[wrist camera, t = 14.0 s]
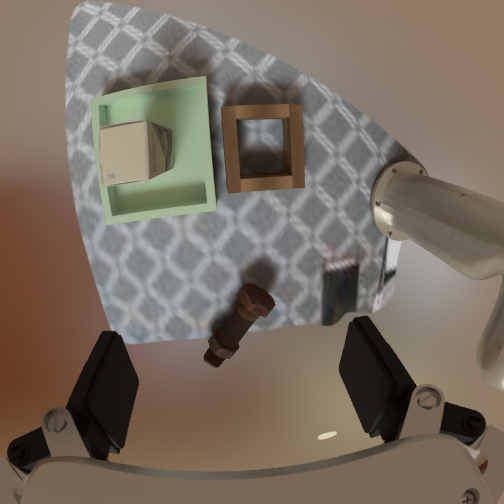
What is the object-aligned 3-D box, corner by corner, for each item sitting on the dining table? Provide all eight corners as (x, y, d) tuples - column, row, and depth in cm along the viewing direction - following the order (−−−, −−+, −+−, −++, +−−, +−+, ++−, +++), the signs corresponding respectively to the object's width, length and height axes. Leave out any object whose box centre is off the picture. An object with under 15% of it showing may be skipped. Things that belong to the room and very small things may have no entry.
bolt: (207, 344, 46) (252, 279, 41) (230, 362, 45) (279, 299, 40) (190, 359, 40) (237, 289, 36) (215, 379, 39) (268, 313, 35)
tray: (206, 81, 28) (205, 76, 25) (216, 205, 35) (216, 210, 32) (100, 101, 27) (91, 99, 24) (114, 218, 33) (106, 225, 30)
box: (175, 168, 31) (151, 185, 20) (140, 172, 31) (101, 191, 19) (173, 126, 29) (147, 118, 18) (138, 131, 29) (96, 127, 17)
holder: (293, 107, 31) (301, 104, 28) (296, 183, 35) (304, 187, 31) (221, 110, 30) (221, 106, 27) (226, 188, 34) (228, 193, 31)
